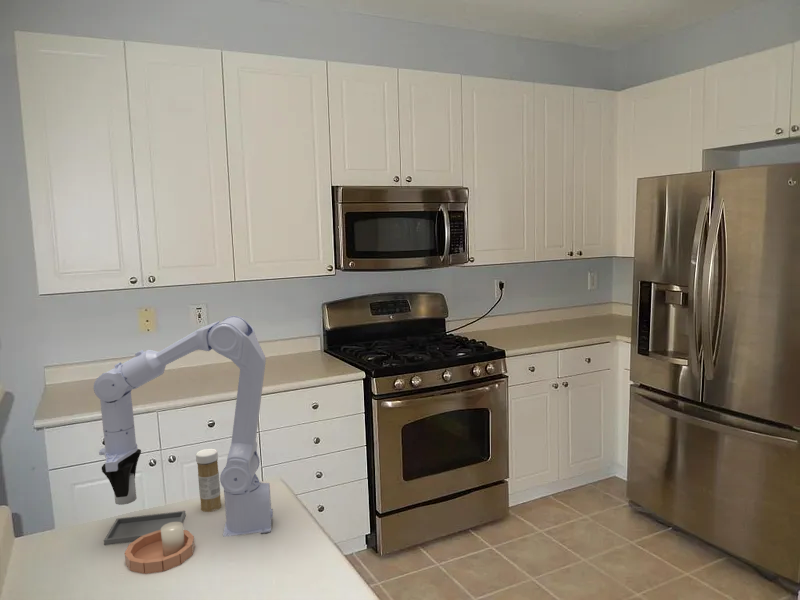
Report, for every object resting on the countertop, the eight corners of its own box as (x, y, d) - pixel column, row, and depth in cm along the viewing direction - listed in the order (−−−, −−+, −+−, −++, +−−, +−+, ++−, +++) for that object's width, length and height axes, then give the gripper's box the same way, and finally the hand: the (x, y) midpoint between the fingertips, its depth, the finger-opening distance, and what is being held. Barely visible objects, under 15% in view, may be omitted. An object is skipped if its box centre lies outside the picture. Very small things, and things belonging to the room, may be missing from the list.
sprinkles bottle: (216, 502, 135) (212, 446, 133) (225, 509, 132) (220, 451, 130) (197, 509, 132) (192, 451, 131) (204, 516, 129) (200, 457, 127)
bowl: (198, 537, 120) (197, 525, 120) (188, 570, 108) (187, 557, 108) (135, 544, 118) (134, 532, 118) (119, 579, 106) (117, 566, 106)
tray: (185, 517, 129) (185, 510, 128) (178, 538, 120) (177, 531, 120) (117, 525, 126) (116, 518, 126) (104, 547, 117) (103, 540, 117)
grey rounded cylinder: (138, 494, 124) (136, 472, 123) (133, 503, 120) (131, 479, 119) (118, 496, 123) (115, 474, 122) (112, 505, 119) (110, 482, 118)
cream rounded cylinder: (186, 544, 116) (184, 520, 115) (183, 555, 112) (181, 530, 111) (165, 547, 115) (163, 523, 114) (160, 558, 111) (158, 533, 111)
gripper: (108, 418, 126) (114, 478, 128) (85, 442, 112) (92, 510, 113) (143, 415, 127) (149, 475, 129) (125, 438, 113) (131, 505, 115)
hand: (125, 491), depth 121 cm, fingers closed on grey rounded cylinder, 4 cm apart
